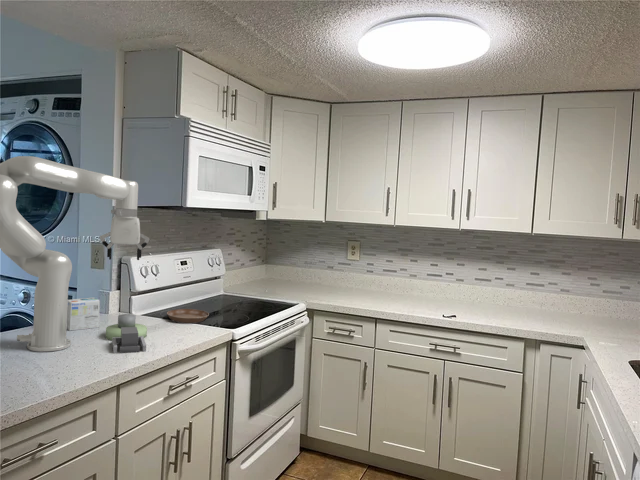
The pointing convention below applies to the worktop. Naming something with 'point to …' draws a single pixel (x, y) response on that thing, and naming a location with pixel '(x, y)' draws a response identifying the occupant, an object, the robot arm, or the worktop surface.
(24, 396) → the worktop surface
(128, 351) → the grey sliding block
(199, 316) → the plant saucer
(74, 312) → the light bulb box
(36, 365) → the worktop surface
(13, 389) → the worktop surface
